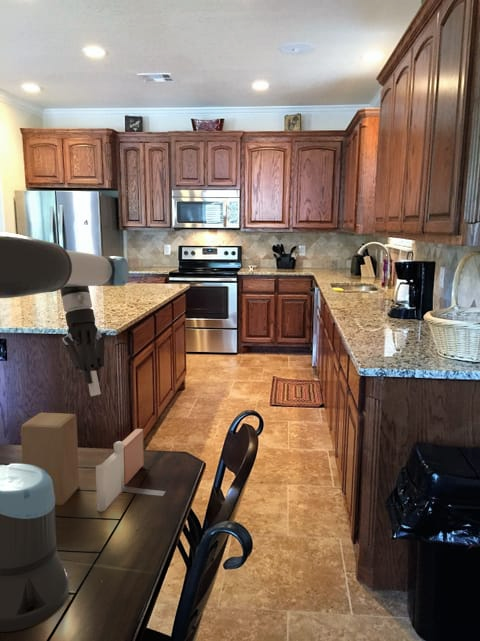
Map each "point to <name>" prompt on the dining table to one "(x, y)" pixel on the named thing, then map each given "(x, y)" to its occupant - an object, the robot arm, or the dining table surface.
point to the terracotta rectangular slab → (133, 454)
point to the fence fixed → (110, 477)
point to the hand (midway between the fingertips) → (95, 395)
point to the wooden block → (53, 450)
